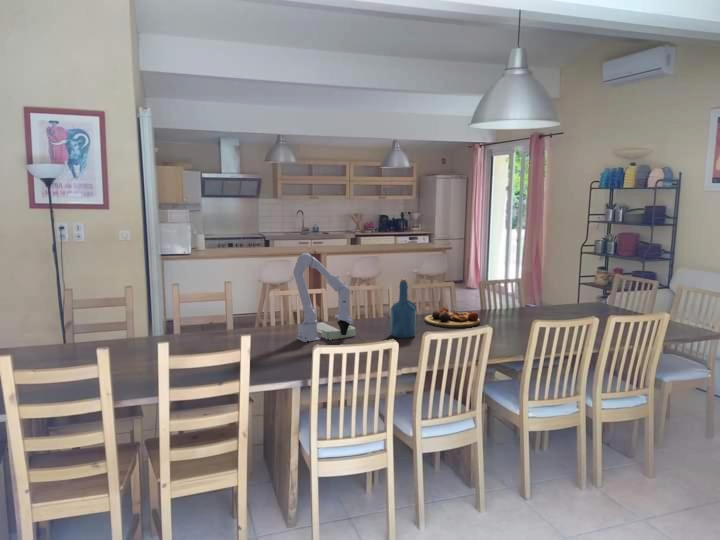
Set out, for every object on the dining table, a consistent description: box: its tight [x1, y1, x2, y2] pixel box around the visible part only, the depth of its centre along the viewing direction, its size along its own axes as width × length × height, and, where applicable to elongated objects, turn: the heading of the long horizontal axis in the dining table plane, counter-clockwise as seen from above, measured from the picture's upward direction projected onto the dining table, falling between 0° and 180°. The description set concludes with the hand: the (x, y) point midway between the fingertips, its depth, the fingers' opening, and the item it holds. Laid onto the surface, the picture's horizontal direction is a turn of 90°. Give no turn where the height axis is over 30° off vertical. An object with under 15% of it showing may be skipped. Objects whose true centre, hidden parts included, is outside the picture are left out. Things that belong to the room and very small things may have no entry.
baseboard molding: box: [317, 320, 339, 335], centre depth 290 cm, size 31×3×12 cm
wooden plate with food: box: [424, 306, 481, 329], centre depth 313 cm, size 32×32×8 cm
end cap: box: [321, 325, 357, 341], centre depth 279 cm, size 17×7×4 cm, turn 122°
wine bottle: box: [389, 278, 417, 339], centre depth 279 cm, size 14×13×30 cm
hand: (343, 334), depth 275 cm, fingers closed
